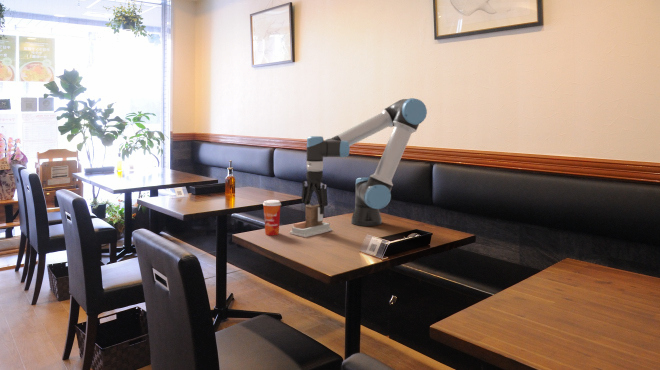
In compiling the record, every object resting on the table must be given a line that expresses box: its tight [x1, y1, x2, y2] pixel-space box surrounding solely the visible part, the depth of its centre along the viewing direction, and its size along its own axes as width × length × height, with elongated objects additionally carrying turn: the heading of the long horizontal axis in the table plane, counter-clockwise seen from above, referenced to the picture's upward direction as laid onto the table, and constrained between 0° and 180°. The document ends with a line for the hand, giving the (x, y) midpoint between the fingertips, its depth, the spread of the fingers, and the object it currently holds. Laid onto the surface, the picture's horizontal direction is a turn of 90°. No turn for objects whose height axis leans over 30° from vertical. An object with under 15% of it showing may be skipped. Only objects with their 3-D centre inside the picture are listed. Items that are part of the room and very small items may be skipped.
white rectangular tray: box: [289, 220, 333, 238], centre depth 224 cm, size 18×10×4 cm, turn 139°
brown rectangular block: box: [305, 203, 323, 228], centre depth 225 cm, size 8×3×11 cm, turn 139°
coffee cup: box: [262, 199, 282, 236], centre depth 218 cm, size 8×8×15 cm
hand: (314, 219), depth 225 cm, fingers open, 7 cm apart
